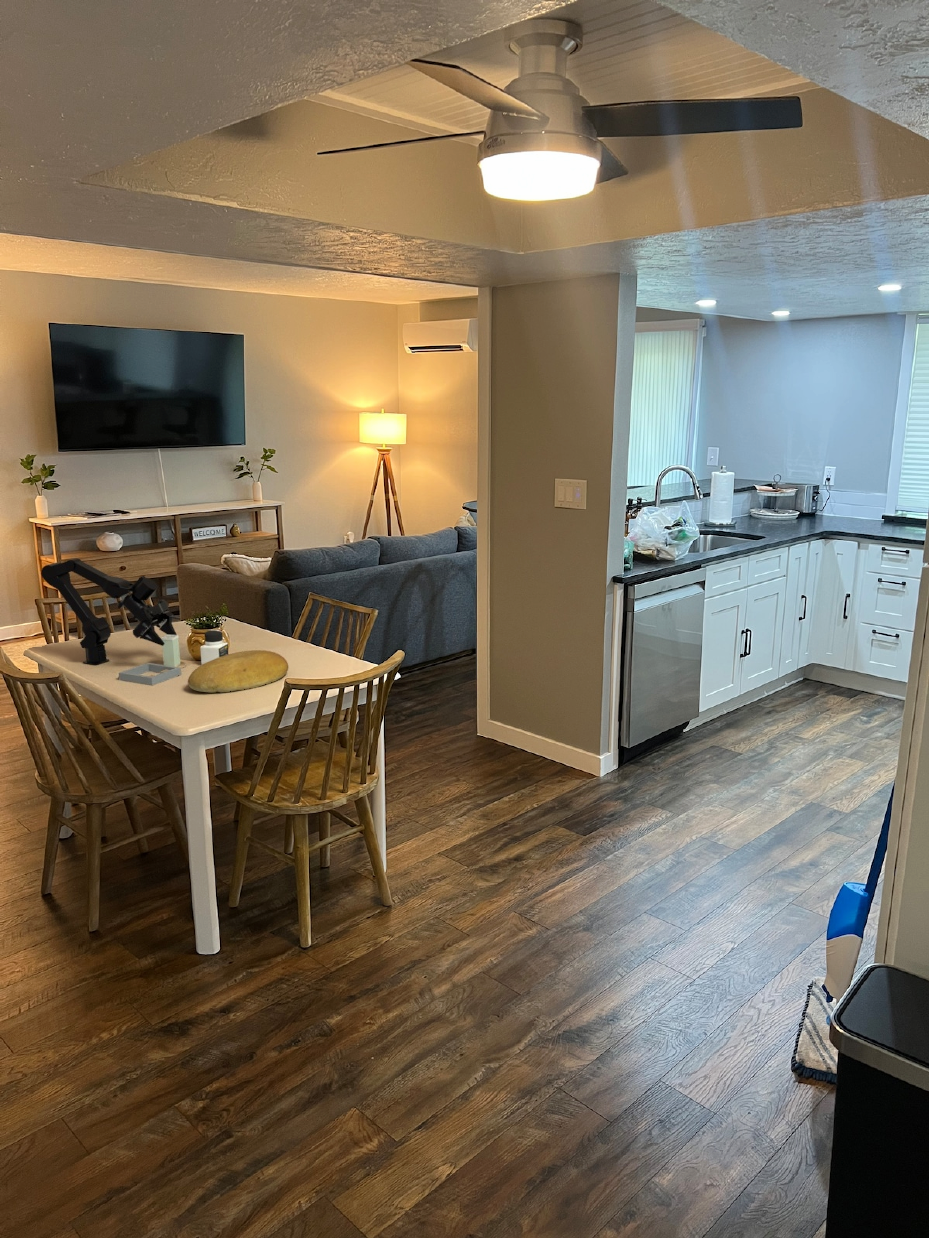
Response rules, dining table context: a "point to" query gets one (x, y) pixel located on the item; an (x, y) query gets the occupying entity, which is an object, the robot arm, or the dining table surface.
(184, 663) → the coaster
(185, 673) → the dining table surface
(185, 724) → the dining table surface
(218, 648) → the medicine bottle
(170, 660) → the tall square-topped block
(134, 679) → the grey square frame
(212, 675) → the bread
